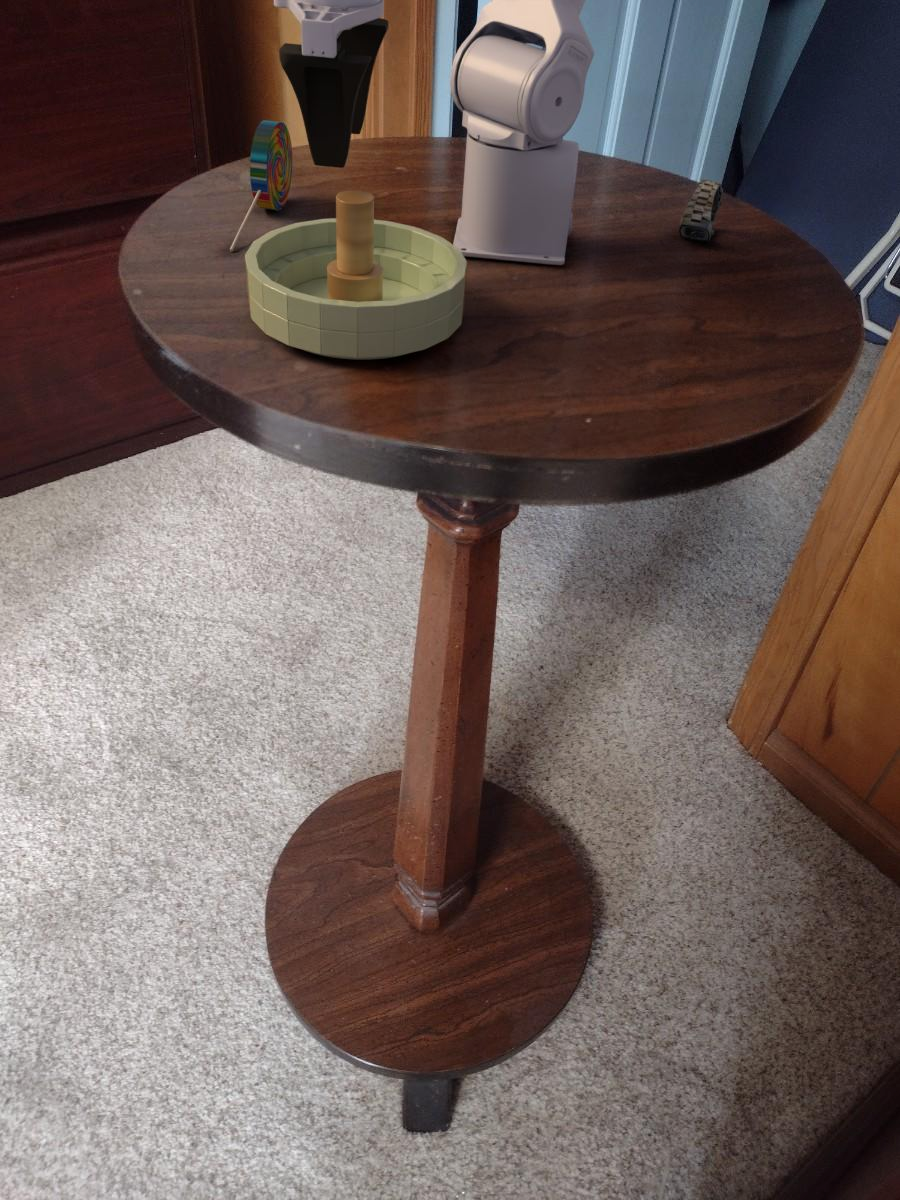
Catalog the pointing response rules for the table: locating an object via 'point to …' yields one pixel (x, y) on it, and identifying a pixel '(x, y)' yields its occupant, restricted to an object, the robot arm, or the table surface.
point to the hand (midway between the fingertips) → (338, 148)
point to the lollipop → (269, 168)
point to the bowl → (346, 328)
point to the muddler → (355, 251)
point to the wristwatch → (701, 212)
